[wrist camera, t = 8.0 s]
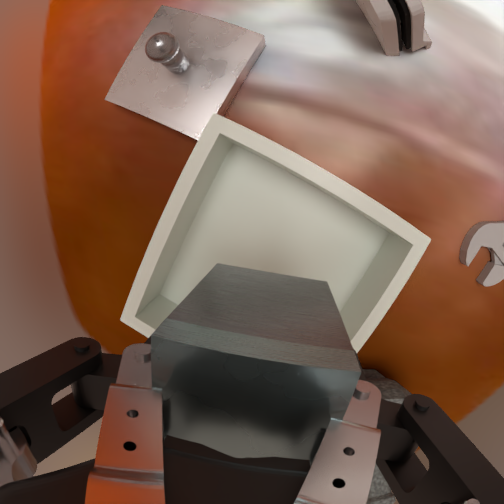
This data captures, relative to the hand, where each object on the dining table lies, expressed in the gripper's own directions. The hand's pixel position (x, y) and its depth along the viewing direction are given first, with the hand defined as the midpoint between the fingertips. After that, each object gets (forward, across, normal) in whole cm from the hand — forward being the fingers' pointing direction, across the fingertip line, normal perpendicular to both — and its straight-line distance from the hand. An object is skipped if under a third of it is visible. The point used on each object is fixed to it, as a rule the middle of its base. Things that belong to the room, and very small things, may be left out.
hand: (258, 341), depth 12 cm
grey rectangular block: (+1, 0, 0) cm, 1 cm away
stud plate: (+13, +10, -15) cm, 22 cm away
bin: (+13, 0, 0) cm, 13 cm away
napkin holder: (+14, -4, -27) cm, 31 cm away
